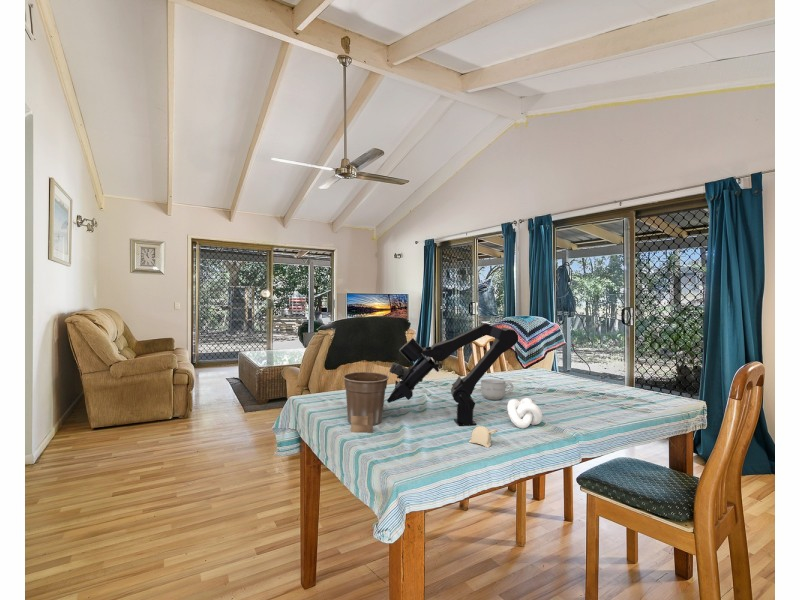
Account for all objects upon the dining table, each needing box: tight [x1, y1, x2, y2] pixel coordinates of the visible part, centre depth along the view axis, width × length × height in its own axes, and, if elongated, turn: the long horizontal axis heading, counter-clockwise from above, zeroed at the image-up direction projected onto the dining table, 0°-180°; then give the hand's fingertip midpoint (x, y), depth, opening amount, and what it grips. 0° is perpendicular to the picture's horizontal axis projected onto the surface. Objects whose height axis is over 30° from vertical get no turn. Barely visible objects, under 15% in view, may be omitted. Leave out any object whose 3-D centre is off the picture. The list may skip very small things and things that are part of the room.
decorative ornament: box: [468, 425, 499, 448], centre depth 126 cm, size 4×8×5 cm, turn 49°
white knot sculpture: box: [506, 397, 543, 429], centre depth 146 cm, size 11×12×9 cm
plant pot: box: [342, 371, 390, 426], centre depth 146 cm, size 16×16×16 cm
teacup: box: [480, 378, 514, 401], centre depth 180 cm, size 14×11×8 cm
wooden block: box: [350, 413, 374, 434], centre depth 147 cm, size 7×24×6 cm, turn 179°
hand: (387, 401), depth 146 cm, fingers closed
